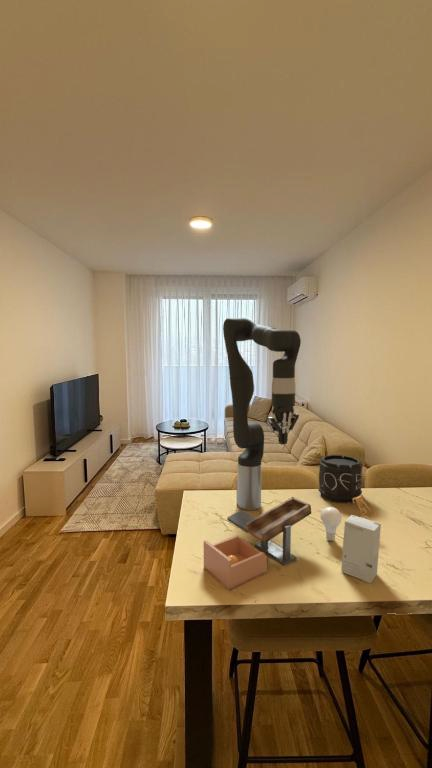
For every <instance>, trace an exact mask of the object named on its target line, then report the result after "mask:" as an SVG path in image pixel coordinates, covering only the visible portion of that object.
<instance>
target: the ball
mask: <svg viewBox="0 0 432 768" xmlns="http://www.w3.org/2000/svg"><path fill="white" fill-rule="evenodd" d="M227 557H229V558H230V559H231V560H232V565H233V564H235V563H237V562H239V561H238V558H237V557H236V556H234V555H229V556H227Z"/></svg>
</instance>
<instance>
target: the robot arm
mask: <svg viewBox="0 0 432 768" xmlns="http://www.w3.org/2000/svg"><path fill="white" fill-rule="evenodd" d="M222 326H223V327H222V332H223V339H224V345H225V349H226V354H227V362H228V363H227V364H228V370H229V385H230V392H231V400H232V428H233V429H232V430H233V431H232V432H233V439H234V443H235V445H236V446H237V447H238V448H239V449H244V451H243V452H241V454H239V455H238V457H237V480H236V504H237V506H238V507H239V508H240V509H241V510H244V511H245V510H246V511H255V510H258V509H259V510H260V508H262V460H263V457H264V449H265V431H264V429H263V427H262V425H261V424H260V423H257V422H250V423H249V421H248V413H249V407H250V404H251V401H252V399H253V395H254V392H255V383H254V375H253V371H252V369H251V368H250V366H249V365H248V363H247V362H246V360H245V359H244V358H243V356H242V355H241V352H240V350H239V347H238V342H245V341H253V342H254V343H255V344H256V345H259V346H262V347H264V348H266V349H268V350H270V351H272V352H276V353H279V352H281V353H283V356H282V357H281V358H278V359H275V360H274V361H273V363H272V381H271V405H272V407H273V409H272V412H271V413H272V414H271V415H270V416H267V418H266V421H267V422H268V424H269V426H270V427H271V429H272V430H273V432H277V433H278V434H277V436H278V439H277V440H278V443H279V444H280V445H287V444H288V441H289V440H288V439H289V438H288V436H289V434H288V433H289V431H292V430H293V429H294V427H295V425H296V423H297V422H298V420H299V417H300V415H299V414H298V413H296V412H295V409H294V407H295V406H296V371H295V370H296V362H297V359H298V356H299V352H300V348H301V341H302V340H301V337H300V336H301V335H300V334H299V332H298V331H297V330H295V329H277V328H275V327H272V326H268V325H263V324H258V323H256V322H254V321H252V320H251V319H249V318H245V317H227V318H226V319H225V320H224V321H223V324H222Z"/></svg>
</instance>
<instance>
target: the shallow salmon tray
mask: <svg viewBox="0 0 432 768" xmlns="http://www.w3.org/2000/svg"><path fill="white" fill-rule="evenodd" d="M229 555H234V556H236V557H237V558H238V561H239V562H237V563H235V564H233V565H232V560H231V559H230V558H229V557H227V556H229ZM267 557H268V556H267V554H266V553H264V552H263V551H261V550H260V549H258V548H257V547H255V546H253V545H251V544H250V543H248V542H247V541H245V540H244V539H242V538H241V537H240V535H234V536H232V537H229V538H226V539H224V540H221V541H218V542H216V543H213V544H211V542H209V541H208V540H207V539H205V540H203V569H204V570H206V572H208V573H209V574H210V575H211V576H212V577H213V578H214V579H215V580H217V582H219V584H221V585H222V584H223V585H224V586H223V585H222V586H223V587H225V588H226V590H228V591H231V590H234V589H235V588H236V589H237V588H238V587H239V586H243V585H244V584H246V583H248V582H250V581H252V580H255V579H257V578H259V577H261V576H264V575H265V574H267V573H268V572H267V569H268V565H267V564H268V563H267V562H268V560H267V559H268V558H267ZM233 588H234V589H233Z"/></svg>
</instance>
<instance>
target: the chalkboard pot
mask: <svg viewBox="0 0 432 768" xmlns="http://www.w3.org/2000/svg"><path fill="white" fill-rule="evenodd" d="M318 466H319V471H318V483H319V484H318V486H319V487H318V489H317V490H318V492H320V496H322V497H323V498H324V499H325V500H328V501H332V502H334V503H338V504H339V503H341V504H351V503H353V499H352V498H355V497H359V496H360V495H362V492H363V491H362V485H363V467H364V466H363V464H362V462H361V460H360V459H358V458H356V457H353V456H349V455H344V456H343V455H342V454H330V455H329V454H328V455H324V456H322V458H321V460H320V461H319V463H318ZM354 503H357V502H356V499H354Z"/></svg>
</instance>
